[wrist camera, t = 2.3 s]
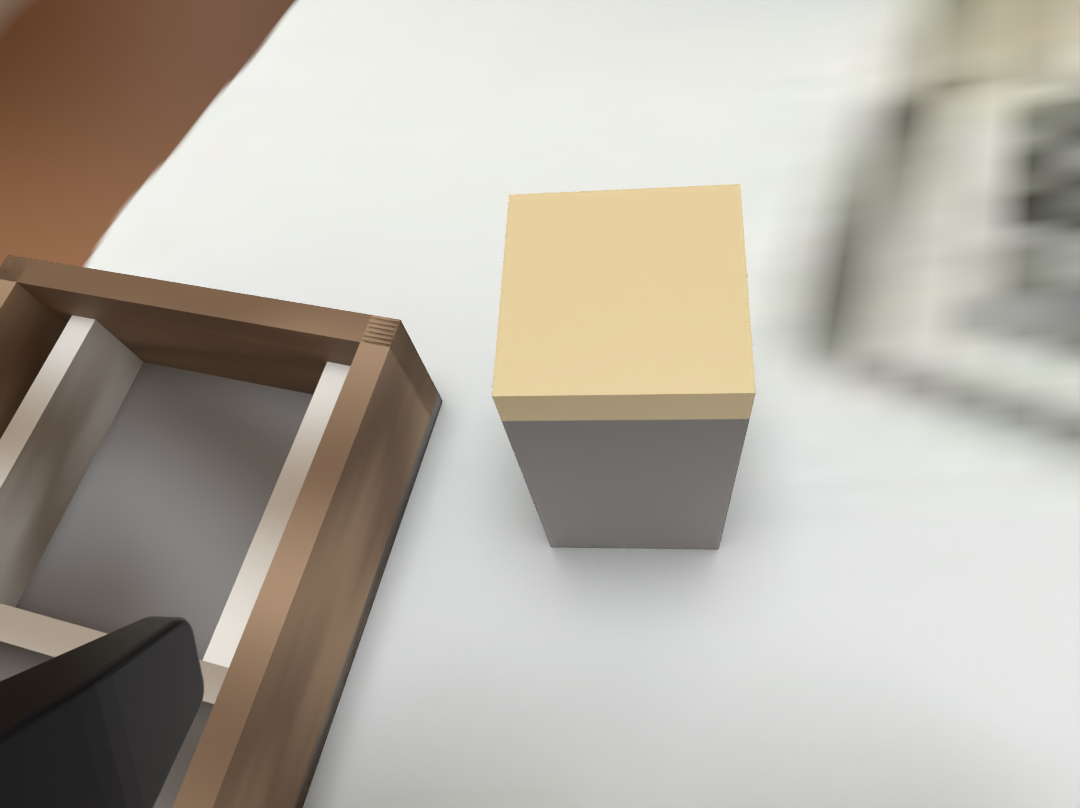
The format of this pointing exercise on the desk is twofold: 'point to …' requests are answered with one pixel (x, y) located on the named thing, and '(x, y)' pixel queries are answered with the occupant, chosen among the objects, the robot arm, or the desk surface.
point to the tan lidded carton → (626, 361)
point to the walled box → (204, 497)
